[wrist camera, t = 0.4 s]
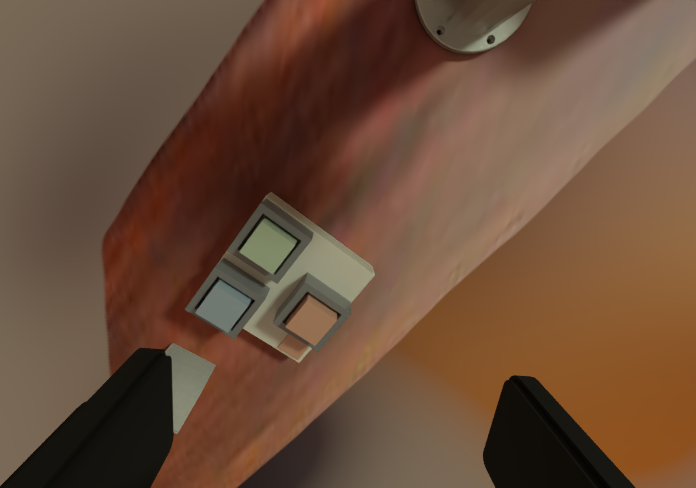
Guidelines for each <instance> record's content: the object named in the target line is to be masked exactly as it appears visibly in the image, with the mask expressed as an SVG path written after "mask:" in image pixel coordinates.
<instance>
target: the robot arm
mask: <svg viewBox="0 0 696 488" xmlns="http://www.w3.org/2000/svg"><path fill="white" fill-rule="evenodd" d="M414 1H415V6H416V11H417V14H418V17H419V19H420V22H421V24H422V26H423V27H424V29H425V31H426V32H427V34H428V35H429V36H430V37H431V38H432V39H433V40H434V41H435V42H436V43H437V44H439V45H440V46H442V47H443V48H445V49H447V50H449V51H452V52H454V53H460V54H477V53H481V52H485V51H487V50H489V49H491V48H494V47H496V46H497V45H499V44H500V43H502V42H504V41H505V40H506V39H508V38H509V37H510V36H511V35H512V34H513V33H514V32H515V31H516V30H517V29H518V28H519V26H520V25H521V24H522V23H523V21H524V19H525V18H526V16H527V14H528V13H529V11H530V9H531V6H532V4H533V2H534V1H535V0H414ZM437 31H440V35H438V34H437ZM487 40H489V44H488V43H487ZM173 436H174V432H173V389H172V358H171V356H167V355H166V353H165V351H164V350H163V349H150V348H139V349H138V350H136V351H135V352H134V353H133V354H132V355H131V356H130V358H129V359H128V360H127V361H126V362H125V363H124V364H123V365H122V366H121V367H120V368H119V369H118V370H117V371H116V372H115V373H114V374H113V375H112V376H111V377H110V378H109V379H108V380H107V381H106V382H105V383H104V384H103V386H102V387H100V389H99V390H97V392H96V393H95V394H94V395H93V396H92V397H91V398H90V399H89V400H88V401H86V402H84V403H83V404H81V405H80V406H79V407H78V408H77V409H76V410H75V411H74V412H73V413H72V414H71V415H70V416H69V417H68V418H67V419H66V420H65V421H64V422H63V423H62V424H61V425H60V426H59V427H58V428H57V429H56V430H55V431H54V432H53V433H52V434H51V435H50V436H49V437H48V438H47V439H46V440H45V441H44V442H43V443H42V444H41V445H40V446H39V447H38V448H37V449H36V450H35V451H34V452H33V454H31V455H30V457H29V458H28V459H27V460H26V461H25V462H24V463H23V464H22V465H21V466H20V467H19V468H18V469H17V470H16V471H15V472H14V473H13V474H12V475H11V476H10V477H9V478H8V479H7V480H6V481H5V482H4V483H3V484H2V485H1V486H0V488H150V487H151V485H152V483H153V482H154V480H155V478H156V476H157V474H158V472H159V470H160V468H161V467H162V465H163V463H164V461H165V459H166V457H167V455H168V453H169V451H170V449H171V446H172V443H173ZM483 461H484V464H485V467H486V469H487V471H488V473H489V476H490V478H491V480H492V482H493V483H494V485H495V488H635V487H634V486H633V484H632V483H631V482H630V481H629V480H628V479H627V478H626V477H625V476H624V474H623V473H622V472H621V471H620V470H619V469H618V468H617V467H616V466H615V465H614V463H613V462H612V461H611V460H610V459H609V458H608V457H607V456H606V455H605V454H604V453H603V451H602V450H601V449H600V448H599V447H598V446H597V445H596V444H595V443H594V442H593V440H592V439H591V438H590V437H589V436H588V435H587V434H586V433H585V432H584V431H583V430H582V428H581V427H580V426H579V425H578V424H577V423H576V422H575V421H574V420H573V418H572V417H571V416H570V415H569V414H568V413H567V412H566V411H565V410H564V409H563V407H562V406H561V405H560V404H559V403H558V402H557V401H556V400H555V399H554V398H553V396H552V395H551V394H550V393H549V392H548V391H547V390H546V389H545V388H544V387H543V386H542V384H541V383H540V382H539V381H538V380H537V379H536V378H534V377H529V376H515V375H514V376H511V377H510V378H509V380H507V381H506V382H505V383H504V385H503V389H502V392H501V395H500V399H499V401H498V405H497V408H496V411H495V415H494V418H493V422H492V425H491V428H490V431H489V435H488V438H487V442H486V445H485V448H484V452H483Z"/></svg>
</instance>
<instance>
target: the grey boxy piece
mask: <svg viewBox="0 0 696 488" xmlns="http://www.w3.org/2000/svg"><path fill="white" fill-rule="evenodd" d="M165 353H166V355H167V356H171V358H172V389H173V432H174V433H175V434H177V433H178V432H179V430H180V429H181V427H182V425H183V423H184V422H185V420H186V418H187V417H188V415H189V413H190V411H191V410H192V408H193V406H194V405H195V403H196V401H197V399H198V398H199V396H200V394H201V392H202V390H203V388H204V387H205V385H206V383H207V381H208V379H209V377H210V375H211V373H212V372H213V370H214V368H215V366H216V365H215V364H213V363H211V362H209V361H207V360H205V359H203V358H201V357H199V356H197V355H195V354H193V353H191V352H189V351H188V350H186V349H184V348H182V347H180V346H178V345H176V344H174V343H172V344H171V345H170V346H169V347H168V349H167V350H166V351H165Z"/></svg>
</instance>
